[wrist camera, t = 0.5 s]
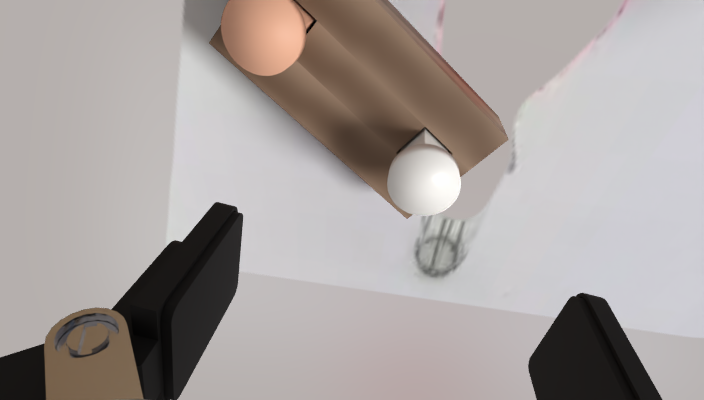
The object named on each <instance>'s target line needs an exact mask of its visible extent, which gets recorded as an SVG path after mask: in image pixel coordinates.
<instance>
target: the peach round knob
mask: <svg viewBox="0 0 704 400" xmlns="http://www.w3.org/2000/svg"><path fill="white" fill-rule="evenodd" d="M315 20H316V19H315V18H314V17H313V16H312V15H311V14H310V13H309V12H308V11H307V10H306V9H305V8H303V7H302V6H301V5H300V4H299V3H298V2H297V1H296V0H229V2H228V3H227V5H226V6H225V8H224V11H223V14H222V19H221V33H222V38H223V41H224V44H225V47H226V49H227V51H228V52H229V54H230V56H231V57H232V58H233V59H234V61H235V62H236V63H237V64H238V65H240V66H241V67H242V68H243V69H245V70H247V71H249V72H251V73H253V74H256V75H261V76H272V75H276V74H279V73H281V72H283V71H284V70H286V69H287V68H288V67H290V66H291V65H292V64H293V63H295V62H296V61H297V59H298V58H299V57H300V55H301V54H302V52H303V49H304V46H305V42H306V32H307V30H308V29H309V28H310V26H311V25H312V24H313V23H314V21H315Z"/></svg>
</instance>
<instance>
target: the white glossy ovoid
mask: <svg viewBox="0 0 704 400" xmlns="http://www.w3.org/2000/svg"><path fill="white" fill-rule="evenodd" d="M460 187H461V180H460V174H459V168H458V164H457V162H456V160H455V159H454V157H453V156H452V155H451V154H450V153H449V152H448V148H447V147H446V146H445V145H444V144H442V143H441V142H440V141H439V140H438V139H437V138H436V137H435V136H434V135H433V134H432V133H431V132H430V131H429V130H428V129H427V128H426V127H424V128H423V129H422V130H421V131H419V132H418V133H417V134H416V135H415V136H414V137H413V138H412V139H411V140H409V141H408V142H407V143H406V144H405V145H404V146H403V147H402V148H401V152H400V153H399V154H398V155H397V156H396V157H395V158H394V160H393V161H392V163H391V166H390V169H389V175H388V180H387V188H388V192H389V195H390V197H391V199H392V201H393V202H394V203H395V204H396V205H397V206H398V207H399V208H400V209H402V210H403V211H405V212H407V213H410V214H413V215H417V216H430V215H435V214H438V213H441V212H443V211H444V210H446V209H448V208H449V207H450V206H451V205H452V204H453V203H454V202H455V200H456V199H457V197H458V195H459V192H460Z"/></svg>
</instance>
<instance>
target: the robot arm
mask: <svg viewBox="0 0 704 400" xmlns="http://www.w3.org/2000/svg"><path fill="white" fill-rule="evenodd" d="M242 225H243V214H242V213H238V210H237V207H235V206H231V205H227V204H223V203H219V202H216V203H215V204H214V205H213V206H212V207H211V208H210V209H209V211H208V212H207V213H206V214H205V215H204V217H203V218H202V219H201V220H200V221H199V222H198V224H197V225H196V226H195V227H194V228H193V230H192V231H191V232H190V233H189V234H188V236H187V237H186V238H185V239H184V240H183V242H180V241H176V240H175V241H172V242H171V243H170V244H169V245H168V246H167V247H166V248H165V249H164V250H163V251H162V252H161V254H160V255H159V256H158V257H157V258H156V259H155V260H154V262H153V263H152V264H151V265H150V266H149V267H148V268H147V270H146V271H145V272H144V273H143V274H142V275H141V276H140V277H139V279H138V280H137V281H136V282H135V283H134V284H133V285H132V287H131V288H130V289H129V290H128V291H127V292H126V293H125V295H124V296H123V297H122V298H121V299H120V300H119V301H118V303H117V304H116V305H115V306H114V307H113V308H112V309H111V310H110V309H107V308H91V309H84V310H81V311H78V312H75V313H72V314H70V315H68V316H67V317H65V318H64V319H61V320H60V321H59V322H58V323H57V324H55V325H54V326H53V327H52V328H51V330H50V331H49V333H48V334H47V336H46V339H45V344H42V345H39V346H35V347H32V348H29V349H26V350H23V351H20V352H17V353H13V354H10V355H7V356H4V357H1V358H0V400H170V399H171V400H177V399H178V398H179V396H180V395H181V393H182V391H183V389H184V387H185V386H186V384H187V382H188V380H189V378H190V376H191V374H192V373H193V371H194V369H195V367H196V365H197V363H198V362H199V360H200V358H201V356H202V354H203V352H204V350H205V349H206V347H207V345H208V343H209V341H210V340H211V338H212V336H213V334H214V332H215V330H216V329H217V326H218V325H219V323H220V321H221V319H222V317H223V316H224V314H225V312H226V310H227V308H228V306H229V304H230V303H231V301H232V299H233V297H234V295H235V293H236V289H237V285H238V274H239V262H240V250H241V237H242ZM528 367H529V373H530V377H531V380H532V384H533V387H534V391H535V394H536V398H537V400H662V398H661V397H660V395H659V393H658V391H657V389H656V388H655V386H654V384H653V382H652V381H651V379H650V377H649V375H648V373H647V372H646V370H645V368H644V366H643V365H642V363H641V361H640V359H639V358H638V356H637V354H636V352H635V351H634V349H633V347H632V346H631V344H630V342H629V340H628V338H627V337H626V335H625V333H624V331H623V329H622V328H621V326H620V324H619V322H618V321H617V319H616V317H615V315H614V313H613V312H612V310H611V308H610V306H609V305H608V303H607V301H606V300H605V299H603V298H601V297H597V296H593V295H589V294H585V293H580V294H578V295H577V296H576V297H575V296H572V297H571V298H570V299H569V300H568V301H567V303H566V304H565V306H564V307H563V309H562V310H561V312H560V313H559V315H558V316H557V318H556V319H555V321H554V323H553V324H552V326H551V327H550V329H549V330H548V332H547V333H546V335H545V337H544V338H543V339H542V341H541V342H540V344H539V345H538V347H537V348H536V350H535V351H534V353H533V354H532V356H531V357H530V360H529V365H528Z"/></svg>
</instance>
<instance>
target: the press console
mask: <svg viewBox="0 0 704 400" xmlns="http://www.w3.org/2000/svg"><path fill="white" fill-rule="evenodd" d="M296 1H297V2H298V3H299V4H300V5H301V6H302V7H303V8H305V9H306V10H307V11H308V12H309V13H310V14H311V15H312V16H313V17H314V18H315V19H316V20H317V22H316V23H315V24H314V26H313V27H312V28H311V30H310V31H309V32H308V33H307V35H306V42H305V46H304V49H303V52H302V54H301V55H300V57H299V58H298V59H297V61H296V62H295V63H293V64H292V65H291V66H290V67H288V68H287V69H286V70H284V71H283V72H281V73H279V74H276V75H272V76H261V75H256V74H253V73H251V72H249V71H247V70H245V69H243V68H242V67H241V66H240V65H238V64H237V63H236V62H235V61H234V59H233V58H232V57H231V56H230V54H229V52H228V51H227V49H226V47H225V44H224V41H223V38H222V33H221V25H220V27H219V29H218V30H217V32H216V33H215V35H214V36H213V38H212V39H211V41H210V42H209V44H211V45H212V46H213V47H214V48H215V49H216V50H217V51H218V52H220V53H221V54H222V55H223V56H224V57H225V58H226V59H227V60H229V61H230V62H231V63H232V64H233V65H234V66H235V67H236V68H238V69H239V70H240V71H241V72H242V73H243V74H244V75H245V76H247V77H248V78H249V79H250V80H251V81H252V82H253V83H254V84H256V85H257V86H258V87H259V88H260V89H261V90H262V91H264V92H265V93H266V94H267V95H268V96H269V97H270V98H271V99H273V100H274V101H275V102H276V103H277V104H278V105H279V106H280V107H282V108H283V109H284V110H285V111H286V112H287V113H288V114H289V115H291V116H292V117H293V118H294V119H295V120H296V121H297V122H298V123H300V124H301V125H302V126H303V127H304V128H305V129H306V130H307V131H309V132H310V133H311V134H312V135H313V136H314V137H315V138H316V139H318V140H319V141H320V142H321V143H322V144H323V145H324V146H325V147H327V148H328V149H329V150H330V151H331V152H332V153H333V154H335V155H336V156H337V157H338V158H339V159H340V160H341V161H342V162H344V163H345V164H346V165H347V166H348V167H349V168H350V169H351V170H353V171H354V172H355V173H356V174H357V175H358V176H359V177H360V178H362V179H363V180H364V181H365V182H366V183H367V184H368V185H369V186H371V187H372V188H373V189H374V190H375V191H376V192H377V193H378V194H380V195H381V196H382V197H383V198H384V199H385V200H386V201H387V202H389V203H390V204H391V205H392V206H393V207H394V208H395V209H396V210H398V211H399V212H400V213H401V214H402V215H403V216H404V217H406V218H407V219H408V218H409V217H410V216H411V215H413V214H410V213H407V212H405V211H403V210H402V209H400V208H399V207H398V206H397V205H396V204H395V203H394V202H393V201H392V199H391V197H390V195H389V192H388V188H387V180H388V175H389V169H390V166H391V163H392V161H393V160H394V158H395V157H396V156H397V155H398V154H399V153H400V152H401V148H402V147H403V146H404V145H405V144H406V143H407V142H408V141H409V140H411V139H412V138H413V137H414V136H415V135H416V134H417V133H418V132H419V131H421V130H422V129H423V128H424V127H426V128H427V129H428V130H429V131H430V132H431V133H432V134H433V135H434V136H435V137H436V138H437V139H438V140H439V141H440V142H441V143H442V144H444V145H445V146H446V147H447V148H448V152H449V153H450V154H451V155H452V156H453V157H454V159H455V160H456V162H457V164H458V168H459V174H460V177H461V176H462V175H464V174H465V173H466V172H468V171H469V170H470V169H471V168H473V167H474V166H475V165H477V164H478V163H479V162H480V161H482V160H483V159H484V158H485V157H487V156H488V155H489V154H490V153H492V152H493V151H494V150H496V149H497V148H498V147H500V146H501V145H502V144H503V143H504V142H506V141H507V140H508V137H507V135H506V133H505V130H504V128H503V126H502V124H501V121H500V119H499V117H498V115H497V114H496V113H495V112H494V111H493V110H492V109H491V108H490V107H489V106H488V105H487V104H486V103H485V102H484V101H483V100H482V99H481V98H480V97H479V96H478V94H477V93H476V92H475V91H474V90H473V89H472V88H471V87H470V86H469V85H468V84H467V83H466V82H465V81H464V80H463V79H462V78H461V77H460V76H459V74H457V72H456V71H455V70H454V69H453V68H452V67H451V66H450V65H449V64H448V63H447V62H446V61H445V60H444V59H443V58H442V57H441V56H440V54H439V53H438V52H437V51H436V50H435V49H434V48H433V47H432V46H431V45H430V44H429V43H428V42H427V41H426V40H425V39H424V38H423V37H422V36H421V35H420V33H419V32H418V31H417V30H416V29H415V28H414V27H413V26H412V25H411V24H410V23H409V22H408V21H407V20H406V19H405V18H404V17H403V16H402V15H401V13H400V12H399V11H398V10H397V9H396V8H395V7H394V6H393V5H392V4H391V3H390V2H389V1H388V0H296Z"/></svg>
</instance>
